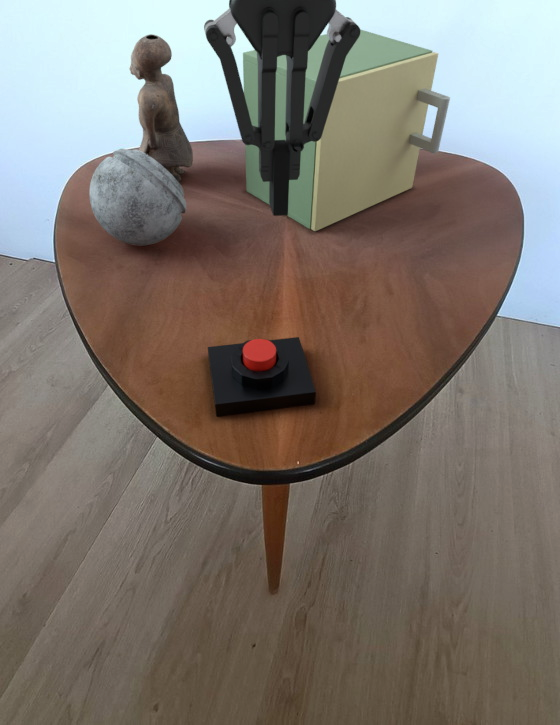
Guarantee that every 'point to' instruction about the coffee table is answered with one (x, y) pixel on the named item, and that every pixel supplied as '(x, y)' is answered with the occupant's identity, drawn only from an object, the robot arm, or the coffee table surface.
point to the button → (259, 355)
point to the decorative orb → (136, 198)
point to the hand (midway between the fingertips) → (278, 208)
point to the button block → (260, 379)
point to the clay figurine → (159, 107)
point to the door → (375, 137)
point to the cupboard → (360, 58)
